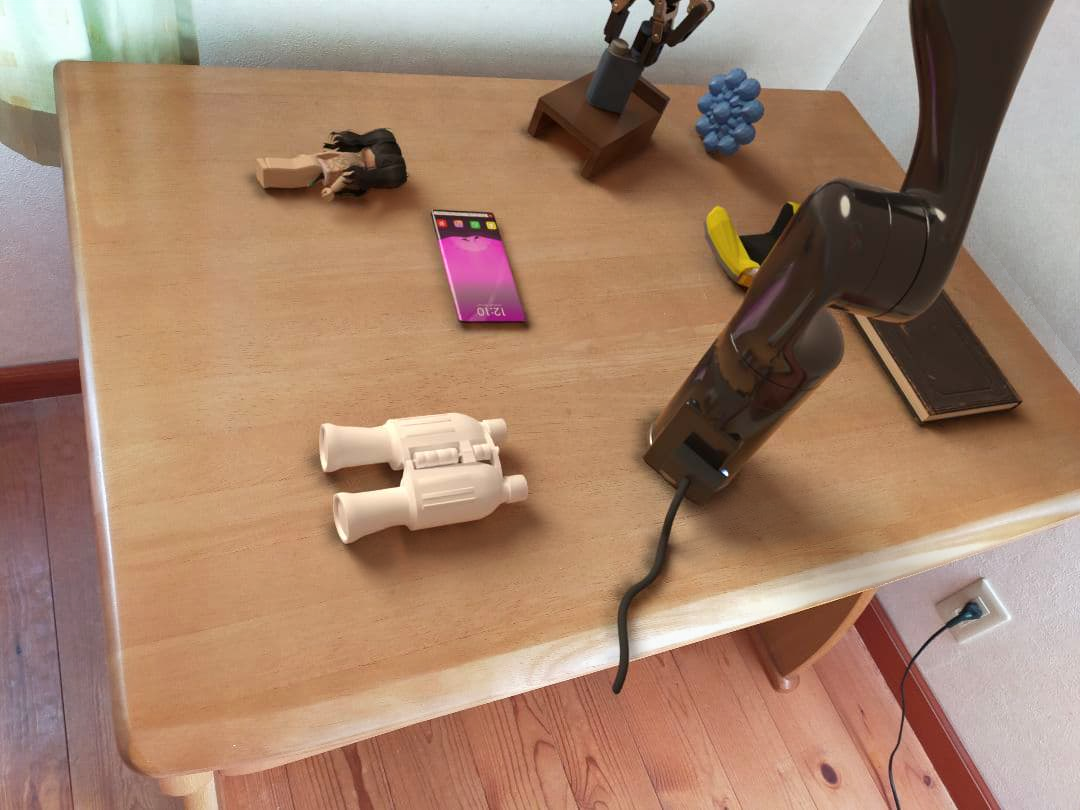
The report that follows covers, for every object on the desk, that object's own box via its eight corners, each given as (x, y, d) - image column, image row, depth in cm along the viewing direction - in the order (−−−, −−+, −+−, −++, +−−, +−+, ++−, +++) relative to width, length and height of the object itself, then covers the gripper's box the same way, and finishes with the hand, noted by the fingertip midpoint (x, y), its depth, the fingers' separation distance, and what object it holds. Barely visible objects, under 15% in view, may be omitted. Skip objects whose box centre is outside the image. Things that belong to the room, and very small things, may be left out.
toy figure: (280, 223, 87) (415, 195, 95) (279, 170, 83) (421, 145, 90) (253, 180, 91) (385, 157, 98) (250, 127, 86) (389, 107, 93)
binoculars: (313, 442, 74) (320, 411, 70) (488, 422, 81) (502, 393, 77) (339, 554, 69) (348, 527, 66) (523, 522, 76) (540, 496, 72)
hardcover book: (918, 425, 100) (931, 414, 98) (822, 273, 110) (832, 260, 109) (1012, 410, 106) (1026, 400, 105) (913, 268, 117) (924, 256, 116)
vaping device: (625, 116, 108) (666, 28, 98) (585, 105, 106) (622, 14, 97) (624, 103, 109) (664, 16, 100) (584, 92, 108) (621, 2, 99)
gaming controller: (685, 235, 106) (724, 298, 102) (706, 201, 102) (747, 265, 97) (778, 228, 113) (818, 286, 109) (801, 196, 109) (844, 255, 104)
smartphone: (492, 218, 97) (494, 212, 96) (526, 324, 89) (529, 318, 89) (428, 215, 94) (430, 209, 93) (458, 325, 86) (460, 319, 86)
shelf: (587, 180, 106) (608, 134, 101) (526, 131, 108) (544, 83, 103) (648, 142, 115) (670, 98, 109) (591, 97, 117) (610, 51, 111)
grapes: (751, 180, 117) (800, 106, 108) (710, 179, 114) (756, 103, 105) (715, 121, 123) (758, 46, 114) (675, 120, 120) (716, 42, 111)
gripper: (617, -127, 88) (562, 26, 101) (728, -48, 85) (656, 99, 98) (657, -137, 93) (598, 11, 106) (763, -62, 90) (690, 80, 103)
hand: (627, 52), depth 102 cm, fingers closed on vaping device, 4 cm apart
